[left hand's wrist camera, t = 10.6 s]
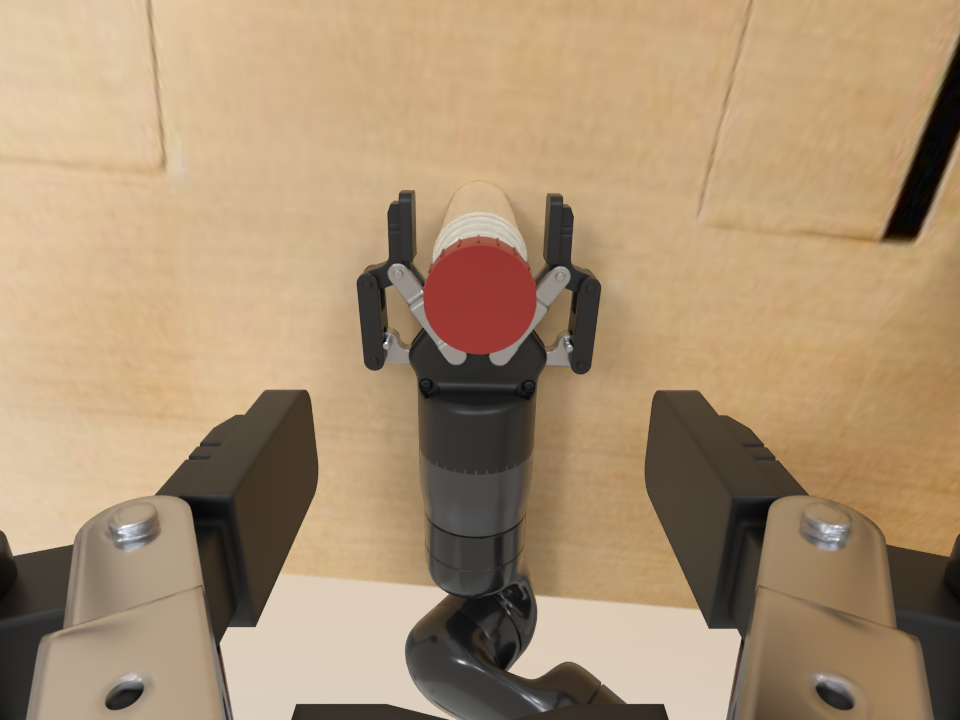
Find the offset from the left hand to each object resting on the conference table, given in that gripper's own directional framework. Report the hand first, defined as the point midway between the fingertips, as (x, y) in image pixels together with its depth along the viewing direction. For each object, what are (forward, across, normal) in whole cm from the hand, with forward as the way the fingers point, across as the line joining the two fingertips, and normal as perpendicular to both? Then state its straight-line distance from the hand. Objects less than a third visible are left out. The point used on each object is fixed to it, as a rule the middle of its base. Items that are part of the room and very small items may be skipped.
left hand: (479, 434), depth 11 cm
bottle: (+31, 0, 0) cm, 31 cm away
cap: (+10, 0, 0) cm, 10 cm away
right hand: (+24, 0, -2) cm, 24 cm away
